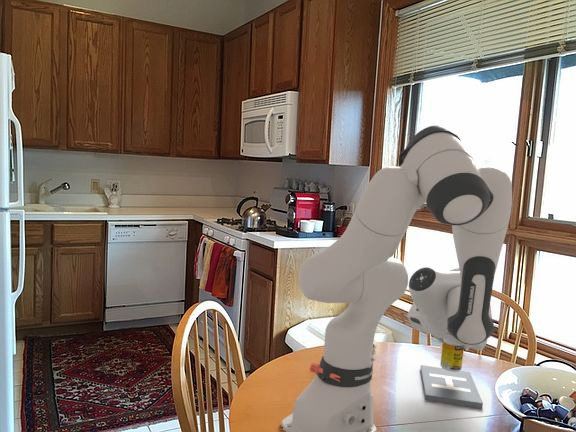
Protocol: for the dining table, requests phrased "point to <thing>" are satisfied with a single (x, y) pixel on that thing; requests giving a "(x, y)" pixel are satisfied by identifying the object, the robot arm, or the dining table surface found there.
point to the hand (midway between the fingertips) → (454, 344)
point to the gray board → (450, 387)
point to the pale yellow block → (374, 348)
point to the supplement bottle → (451, 356)
